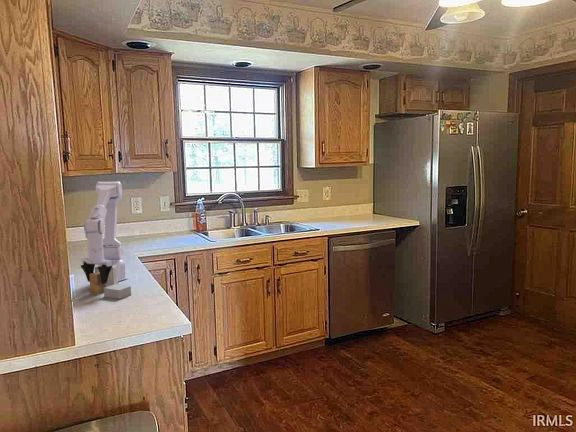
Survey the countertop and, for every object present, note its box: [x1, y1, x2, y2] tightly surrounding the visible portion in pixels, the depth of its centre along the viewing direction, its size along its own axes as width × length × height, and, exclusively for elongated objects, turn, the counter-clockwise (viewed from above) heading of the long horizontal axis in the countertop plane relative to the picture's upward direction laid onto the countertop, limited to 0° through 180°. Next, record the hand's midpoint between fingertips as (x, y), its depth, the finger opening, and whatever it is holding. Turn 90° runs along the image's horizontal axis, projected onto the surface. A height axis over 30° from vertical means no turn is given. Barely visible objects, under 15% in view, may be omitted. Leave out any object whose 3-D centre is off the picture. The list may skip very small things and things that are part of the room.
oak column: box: [89, 271, 105, 295], centre depth 175 cm, size 4×4×8 cm
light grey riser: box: [103, 283, 132, 300], centre depth 171 cm, size 6×8×4 cm
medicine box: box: [94, 265, 119, 287], centre depth 184 cm, size 8×4×9 cm, turn 91°
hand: (97, 282), depth 175 cm, fingers open, 7 cm apart
